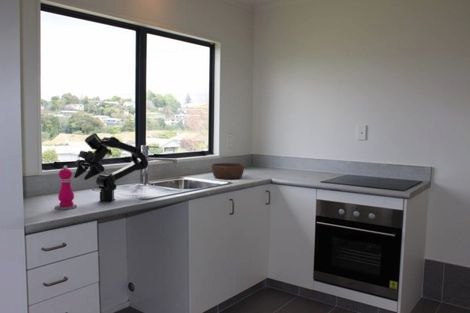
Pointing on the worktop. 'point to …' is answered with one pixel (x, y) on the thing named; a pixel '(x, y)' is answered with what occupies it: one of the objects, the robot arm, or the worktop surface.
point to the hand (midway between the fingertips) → (79, 178)
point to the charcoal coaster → (65, 207)
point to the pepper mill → (65, 188)
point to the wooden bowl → (227, 170)
